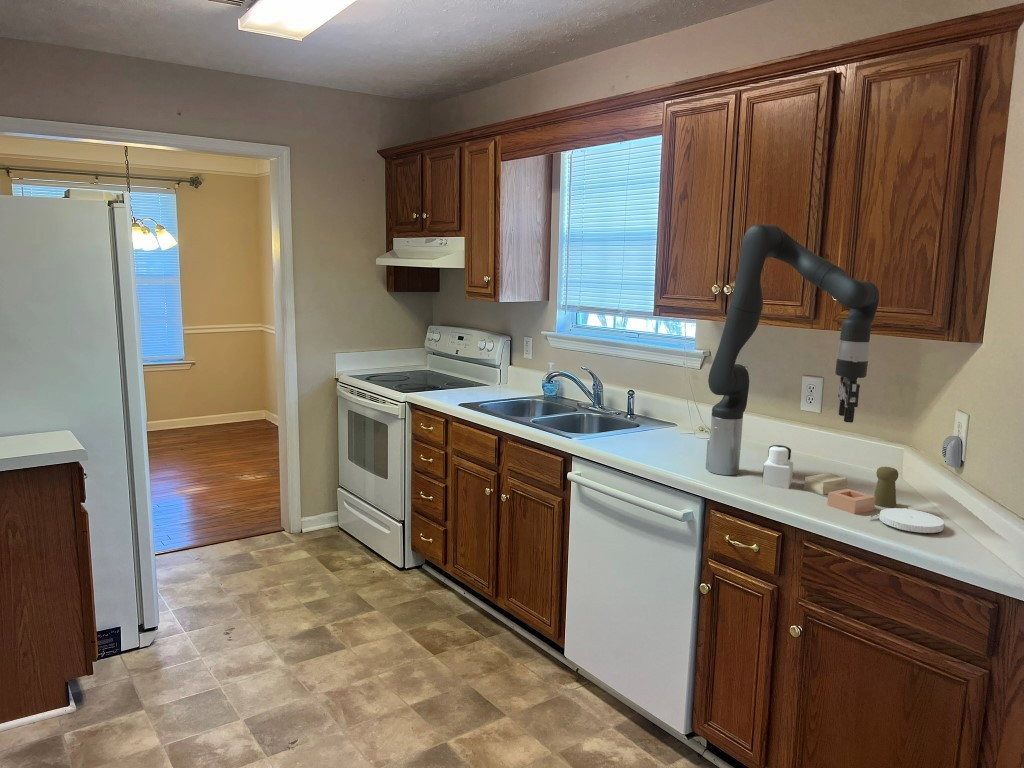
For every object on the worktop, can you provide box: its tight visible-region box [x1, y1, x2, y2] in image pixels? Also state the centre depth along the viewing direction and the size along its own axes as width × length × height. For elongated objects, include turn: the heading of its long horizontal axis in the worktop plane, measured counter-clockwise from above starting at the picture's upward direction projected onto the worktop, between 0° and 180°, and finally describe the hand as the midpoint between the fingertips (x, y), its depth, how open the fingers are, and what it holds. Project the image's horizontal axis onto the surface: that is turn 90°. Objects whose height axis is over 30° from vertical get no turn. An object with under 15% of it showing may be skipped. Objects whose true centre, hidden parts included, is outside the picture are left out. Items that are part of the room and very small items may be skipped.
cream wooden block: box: [804, 472, 848, 495], centre depth 210 cm, size 6×10×4 cm, turn 119°
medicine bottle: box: [761, 444, 794, 490], centre depth 214 cm, size 7×7×12 cm
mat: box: [792, 484, 828, 499], centre depth 210 cm, size 12×12×1 cm
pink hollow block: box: [826, 488, 876, 515], centre depth 194 cm, size 8×8×4 cm
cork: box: [873, 466, 899, 509], centre depth 197 cm, size 6×6×11 cm
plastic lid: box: [879, 507, 945, 534], centre depth 184 cm, size 14×14×2 cm
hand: (845, 418), depth 198 cm, fingers open, 8 cm apart
